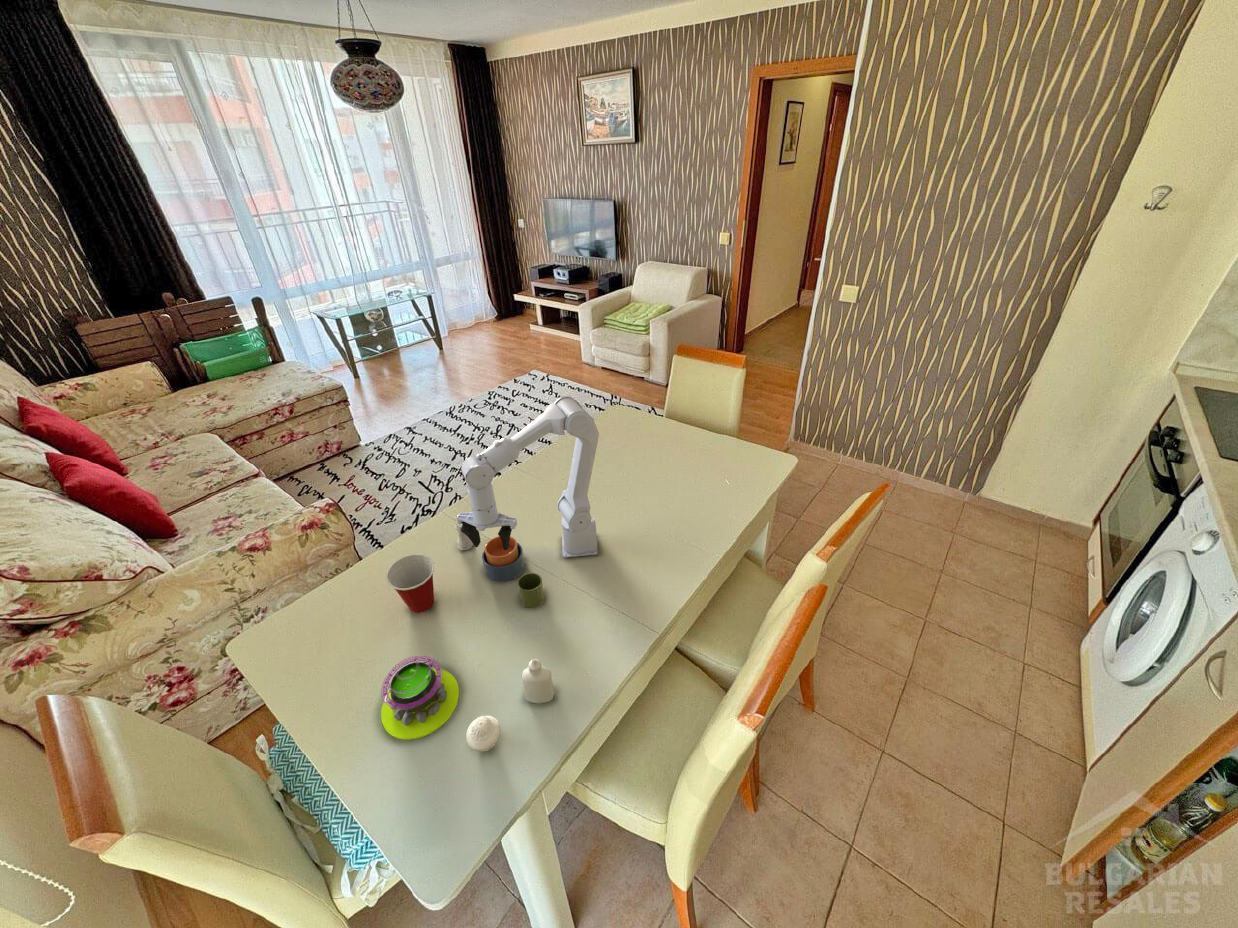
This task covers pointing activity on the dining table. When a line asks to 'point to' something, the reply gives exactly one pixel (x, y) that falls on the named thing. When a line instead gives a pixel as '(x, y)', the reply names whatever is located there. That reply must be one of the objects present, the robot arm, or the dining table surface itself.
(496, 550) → the stack mid
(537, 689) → the eye dropper bottle
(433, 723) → the toy cauldron
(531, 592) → the olive cup
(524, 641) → the dining table surface
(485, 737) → the white rounded egg shape
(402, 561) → the plastic cup
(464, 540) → the rook chess piece
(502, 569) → the stack big
